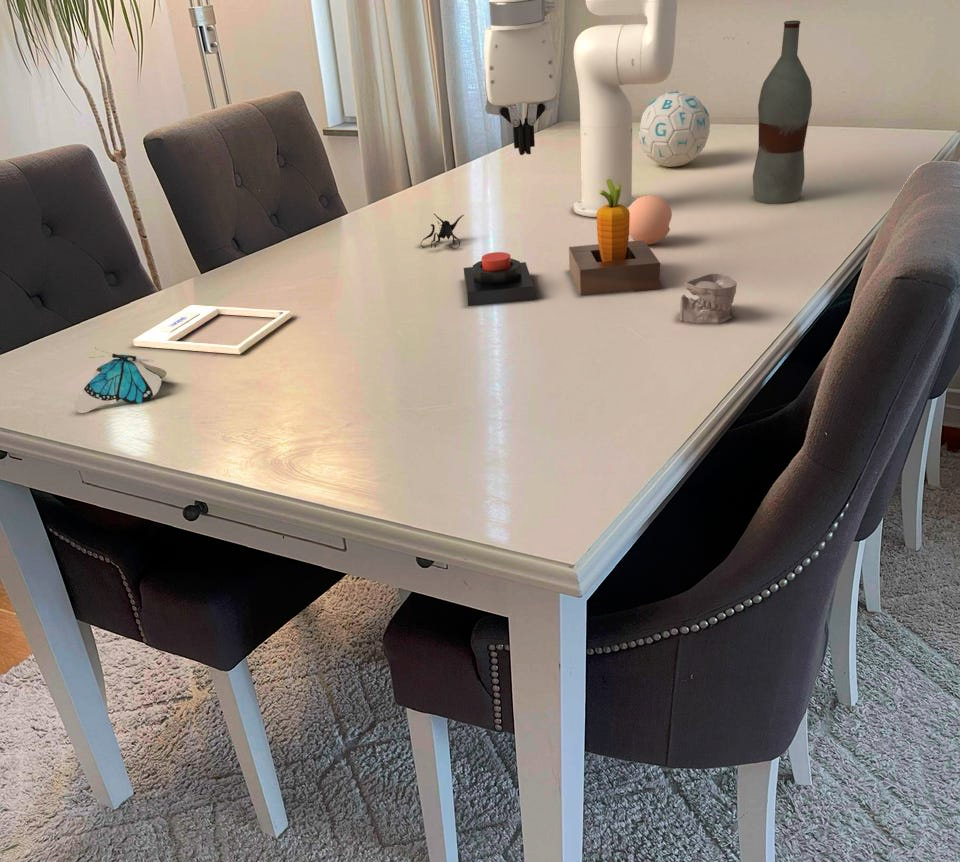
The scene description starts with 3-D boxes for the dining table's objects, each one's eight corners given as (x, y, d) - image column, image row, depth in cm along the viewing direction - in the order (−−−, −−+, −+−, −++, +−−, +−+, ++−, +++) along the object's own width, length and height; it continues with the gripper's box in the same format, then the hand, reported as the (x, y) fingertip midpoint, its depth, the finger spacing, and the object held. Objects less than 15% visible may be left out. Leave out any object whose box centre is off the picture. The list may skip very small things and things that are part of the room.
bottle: (747, 204, 179) (760, 25, 163) (754, 191, 186) (768, 19, 170) (799, 205, 176) (817, 23, 160) (804, 192, 183) (823, 17, 167)
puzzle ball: (718, 159, 211) (722, 86, 203) (692, 175, 200) (695, 98, 192) (654, 156, 218) (656, 85, 210) (626, 171, 208) (627, 97, 200)
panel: (464, 281, 153) (462, 256, 151) (526, 275, 153) (525, 250, 151) (468, 306, 143) (465, 280, 141) (534, 300, 143) (533, 274, 141)
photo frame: (190, 303, 150) (290, 309, 144) (192, 310, 150) (291, 316, 144) (132, 338, 138) (238, 346, 132) (134, 345, 139) (239, 354, 133)
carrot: (628, 285, 146) (628, 184, 138) (595, 285, 147) (594, 185, 139) (630, 274, 150) (631, 176, 142) (598, 274, 151) (597, 177, 143)
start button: (481, 264, 148) (480, 253, 147) (509, 262, 148) (509, 250, 147) (483, 273, 144) (482, 262, 143) (512, 270, 144) (511, 259, 143)
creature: (454, 258, 167) (472, 235, 172) (449, 230, 164) (467, 208, 169) (415, 255, 170) (434, 233, 175) (409, 228, 167) (428, 206, 172)
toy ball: (680, 241, 163) (682, 193, 158) (654, 253, 158) (655, 204, 154) (641, 234, 167) (642, 188, 163) (615, 246, 163) (615, 199, 159)
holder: (569, 271, 153) (568, 246, 151) (643, 264, 153) (643, 239, 151) (580, 296, 143) (580, 270, 141) (659, 288, 143) (660, 262, 141)
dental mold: (701, 330, 128) (703, 294, 126) (670, 316, 134) (671, 281, 131) (747, 317, 131) (750, 281, 128) (715, 303, 136) (717, 269, 134)
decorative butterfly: (156, 375, 119) (71, 364, 117) (155, 422, 122) (73, 412, 120) (171, 345, 127) (93, 334, 125) (171, 389, 130) (94, 379, 129)
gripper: (567, 6, 135) (571, 142, 145) (462, 17, 135) (473, 152, 145) (574, 12, 129) (578, 153, 139) (464, 23, 129) (476, 163, 139)
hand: (524, 152), depth 142 cm, fingers closed
